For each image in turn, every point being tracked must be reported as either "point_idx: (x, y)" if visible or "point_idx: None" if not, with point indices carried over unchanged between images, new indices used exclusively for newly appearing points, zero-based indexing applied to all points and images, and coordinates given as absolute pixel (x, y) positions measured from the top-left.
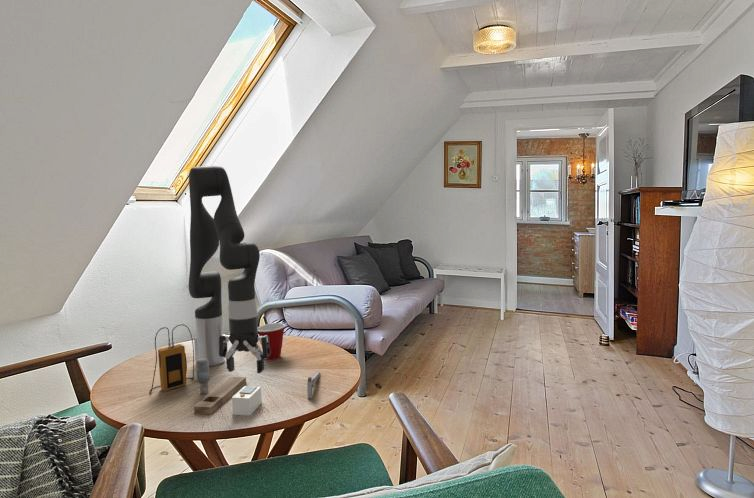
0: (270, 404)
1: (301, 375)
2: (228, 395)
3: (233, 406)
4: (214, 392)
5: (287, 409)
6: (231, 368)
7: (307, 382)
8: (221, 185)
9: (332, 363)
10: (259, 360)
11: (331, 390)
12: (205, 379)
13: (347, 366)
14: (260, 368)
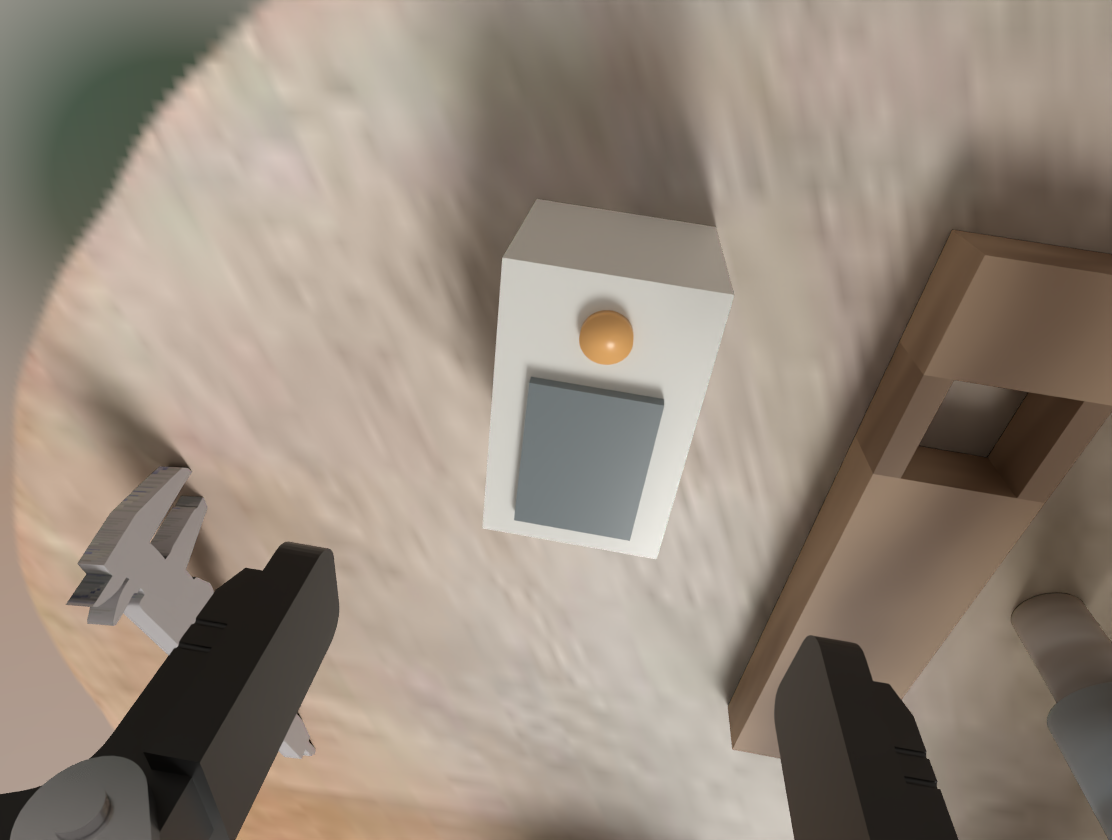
0: (429, 401)
1: (398, 745)
2: (823, 536)
3: (709, 253)
4: (965, 563)
5: (248, 308)
6: (815, 694)
7: (102, 565)
8: None
9: (293, 825)
10: (151, 763)
11: None
12: (1104, 712)
13: None
14: (238, 608)
